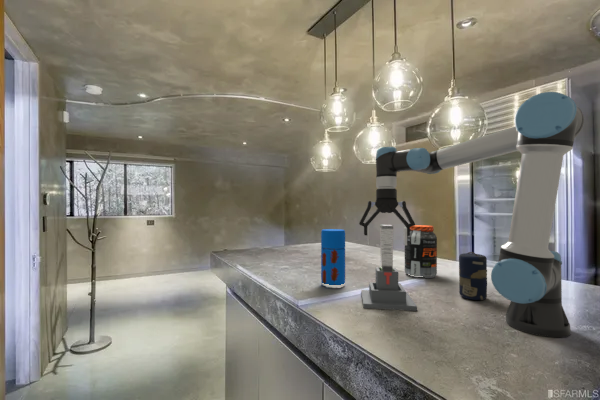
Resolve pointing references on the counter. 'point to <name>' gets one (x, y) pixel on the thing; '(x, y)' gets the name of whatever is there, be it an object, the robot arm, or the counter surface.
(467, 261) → the canister
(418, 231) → the supplement tub
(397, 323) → the counter surface
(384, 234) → the column
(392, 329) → the counter surface
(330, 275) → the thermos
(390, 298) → the base
